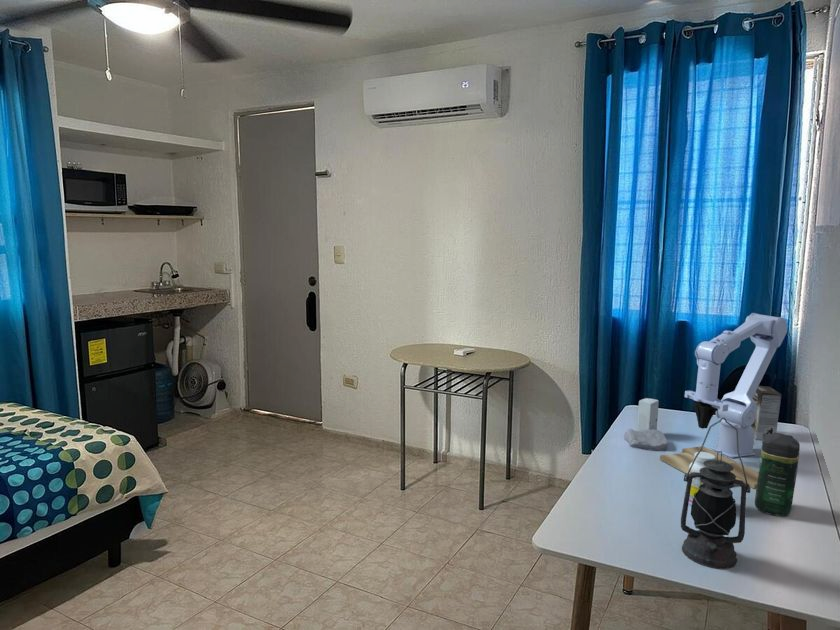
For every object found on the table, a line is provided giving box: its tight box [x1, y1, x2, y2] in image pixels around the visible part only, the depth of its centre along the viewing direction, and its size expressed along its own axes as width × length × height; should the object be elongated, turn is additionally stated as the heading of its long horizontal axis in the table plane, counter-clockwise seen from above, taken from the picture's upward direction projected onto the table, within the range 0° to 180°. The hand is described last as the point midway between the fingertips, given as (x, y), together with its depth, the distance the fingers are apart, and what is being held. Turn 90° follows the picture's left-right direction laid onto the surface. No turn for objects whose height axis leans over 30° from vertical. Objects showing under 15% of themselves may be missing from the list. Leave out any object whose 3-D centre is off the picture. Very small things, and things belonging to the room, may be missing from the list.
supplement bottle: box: [688, 452, 715, 506], centre depth 148 cm, size 7×7×13 cm
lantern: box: [680, 418, 752, 570], centre depth 124 cm, size 12×11×30 cm
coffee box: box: [751, 385, 782, 441], centre depth 198 cm, size 9×6×16 cm
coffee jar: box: [754, 432, 800, 517], centre depth 146 cm, size 10×8×19 cm
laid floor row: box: [681, 445, 759, 489], centre depth 172 cm, size 8×26×1 cm, turn 19°
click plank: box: [659, 452, 742, 486], centre depth 169 cm, size 10×20×1 cm, turn 19°
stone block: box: [623, 428, 669, 452], centre depth 189 cm, size 12×5×10 cm
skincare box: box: [636, 397, 660, 431], centre depth 196 cm, size 6×4×12 cm
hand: (702, 427), depth 176 cm, fingers closed
